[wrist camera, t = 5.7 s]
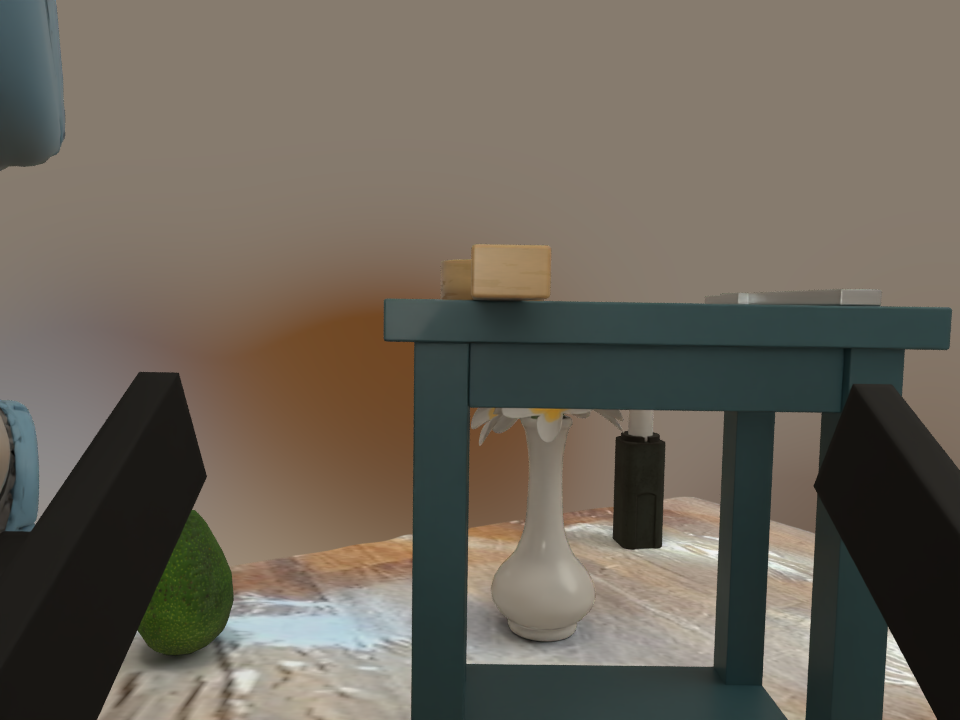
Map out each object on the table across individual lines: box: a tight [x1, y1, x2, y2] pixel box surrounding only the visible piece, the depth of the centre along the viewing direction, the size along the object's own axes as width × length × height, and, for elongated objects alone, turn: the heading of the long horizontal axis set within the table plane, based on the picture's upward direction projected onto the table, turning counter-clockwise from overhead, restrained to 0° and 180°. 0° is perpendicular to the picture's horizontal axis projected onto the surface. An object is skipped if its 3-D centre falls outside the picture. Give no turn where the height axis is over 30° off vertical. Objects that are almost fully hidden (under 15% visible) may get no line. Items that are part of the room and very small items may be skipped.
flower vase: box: [471, 408, 624, 641], centre depth 64 cm, size 13×18×25 cm
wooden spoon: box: [441, 244, 551, 301], centre depth 26 cm, size 20×5×2 cm, turn 0°
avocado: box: [138, 510, 233, 655], centre depth 59 cm, size 8×8×12 cm
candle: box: [613, 410, 665, 549], centre depth 88 cm, size 5×5×25 cm
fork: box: [705, 289, 882, 306], centre depth 33 cm, size 14×2×1 cm, turn 0°
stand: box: [384, 299, 952, 720], centre depth 34 cm, size 15×20×29 cm
